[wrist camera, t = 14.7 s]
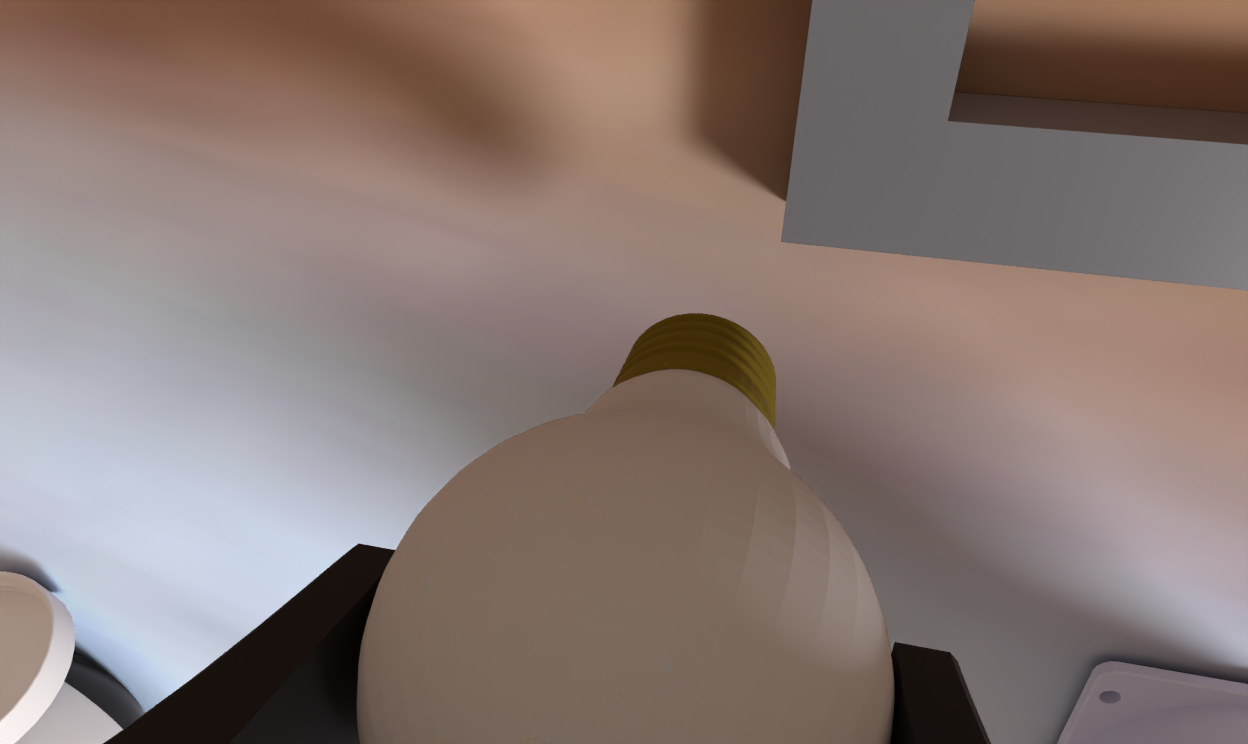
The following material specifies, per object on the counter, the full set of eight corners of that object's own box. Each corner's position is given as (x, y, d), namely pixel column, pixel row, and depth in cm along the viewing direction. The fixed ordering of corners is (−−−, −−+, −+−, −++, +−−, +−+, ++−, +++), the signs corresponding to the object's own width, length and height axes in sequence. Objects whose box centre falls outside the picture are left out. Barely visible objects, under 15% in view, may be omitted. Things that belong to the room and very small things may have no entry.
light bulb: (670, 520, 18) (523, 1111, 10) (488, 305, 16) (114, 815, 8) (936, 406, 15) (1046, 1100, 7) (754, 131, 13) (610, 637, 5)
